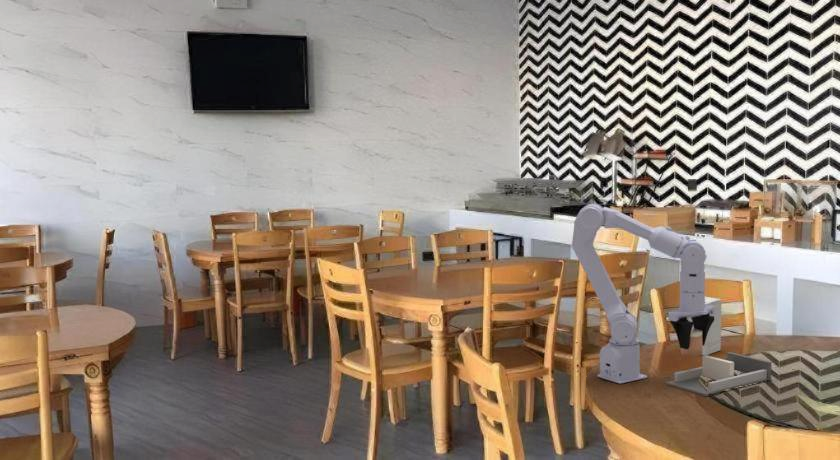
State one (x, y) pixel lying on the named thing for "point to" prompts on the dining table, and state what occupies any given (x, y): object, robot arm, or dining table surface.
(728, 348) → the dining table surface
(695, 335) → the jar
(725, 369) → the follower
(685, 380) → the lane
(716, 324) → the skincare box
